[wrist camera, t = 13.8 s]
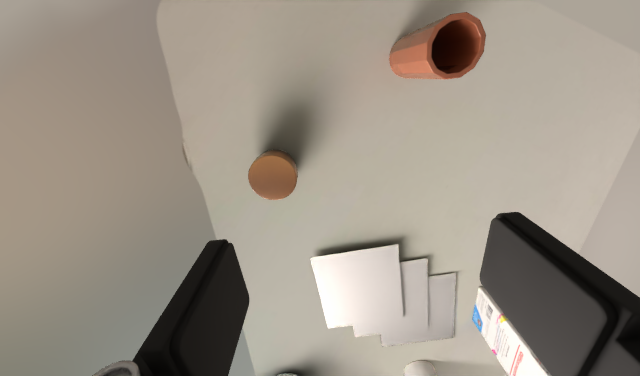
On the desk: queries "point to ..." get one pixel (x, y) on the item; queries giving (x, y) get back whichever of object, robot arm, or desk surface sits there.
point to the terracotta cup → (440, 49)
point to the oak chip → (273, 175)
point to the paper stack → (385, 296)
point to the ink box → (505, 339)
